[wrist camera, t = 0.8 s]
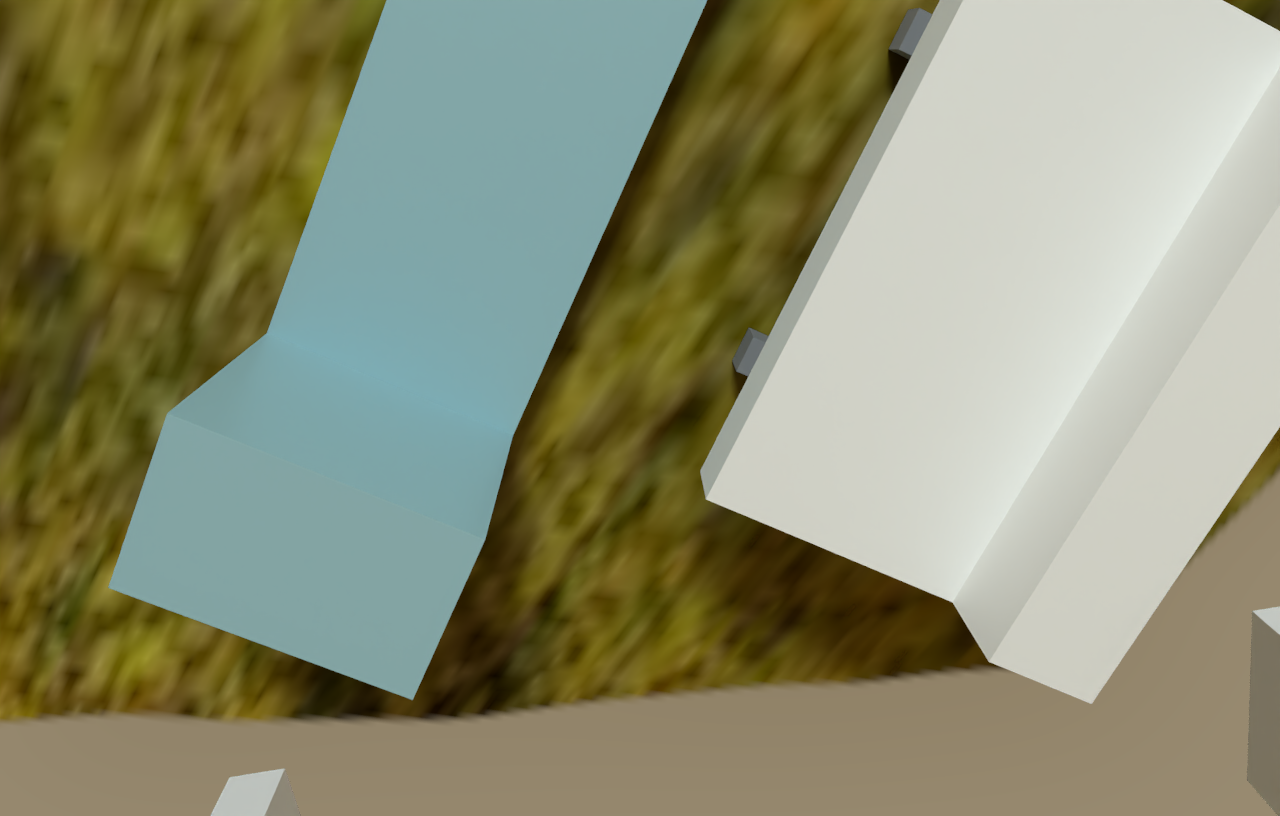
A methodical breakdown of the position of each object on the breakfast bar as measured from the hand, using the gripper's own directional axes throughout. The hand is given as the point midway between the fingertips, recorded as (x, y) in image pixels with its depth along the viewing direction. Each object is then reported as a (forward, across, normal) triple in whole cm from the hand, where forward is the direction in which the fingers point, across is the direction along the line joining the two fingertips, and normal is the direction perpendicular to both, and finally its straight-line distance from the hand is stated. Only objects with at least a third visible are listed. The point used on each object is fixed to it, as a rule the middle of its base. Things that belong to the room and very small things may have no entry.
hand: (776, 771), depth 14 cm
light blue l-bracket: (+21, -5, +6) cm, 22 cm away
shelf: (+21, +9, +2) cm, 22 cm away
